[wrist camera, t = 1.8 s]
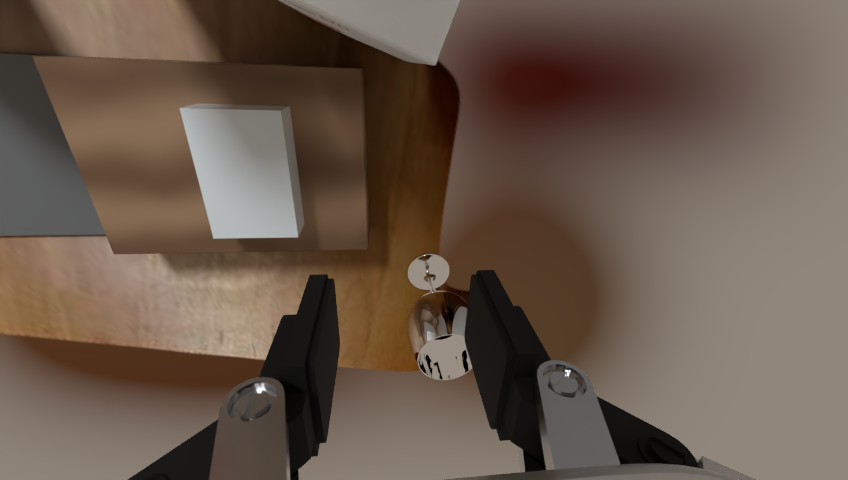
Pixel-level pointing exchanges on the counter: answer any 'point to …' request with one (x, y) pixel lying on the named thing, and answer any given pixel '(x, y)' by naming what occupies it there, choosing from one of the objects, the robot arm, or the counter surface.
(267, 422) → the robot arm
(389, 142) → the counter surface
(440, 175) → the counter surface
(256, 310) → the counter surface
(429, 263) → the wineglass
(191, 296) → the counter surface
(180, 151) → the brown wooden block
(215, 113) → the tile
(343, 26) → the supplement box
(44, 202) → the mat
